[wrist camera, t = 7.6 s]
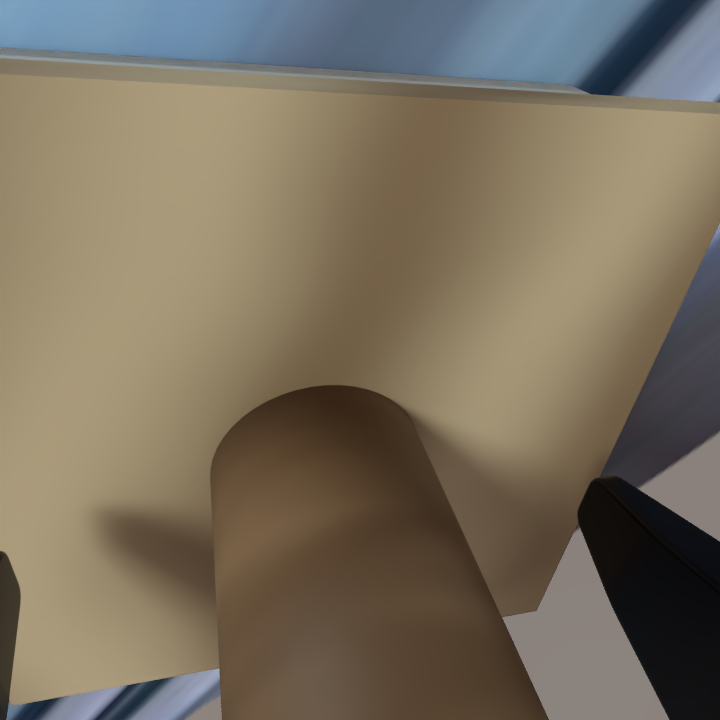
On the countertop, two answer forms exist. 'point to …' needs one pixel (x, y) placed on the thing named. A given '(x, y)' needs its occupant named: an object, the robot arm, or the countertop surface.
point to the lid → (319, 371)
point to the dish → (277, 70)
